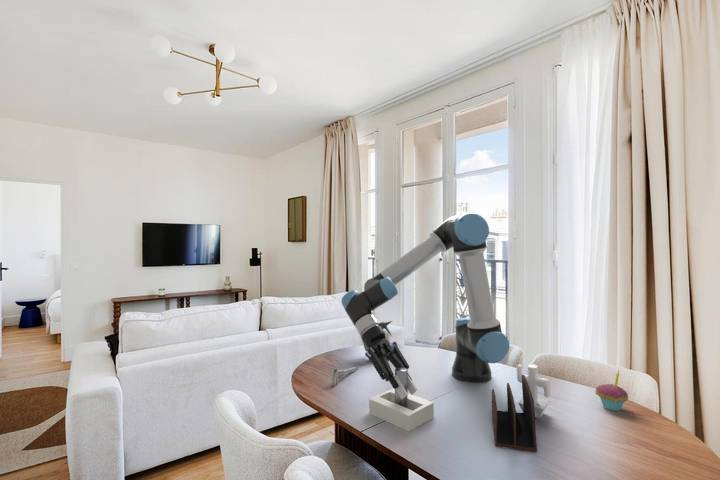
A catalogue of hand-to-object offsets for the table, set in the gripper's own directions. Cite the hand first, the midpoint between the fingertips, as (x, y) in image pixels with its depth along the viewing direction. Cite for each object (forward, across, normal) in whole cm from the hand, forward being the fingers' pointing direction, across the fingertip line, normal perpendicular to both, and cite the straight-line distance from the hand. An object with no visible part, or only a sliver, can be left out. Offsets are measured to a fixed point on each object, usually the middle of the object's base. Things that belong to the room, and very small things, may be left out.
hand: (409, 394), depth 109 cm
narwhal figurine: (-28, -35, -39) cm, 59 cm away
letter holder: (+23, -15, +12) cm, 30 cm away
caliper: (-23, -10, -34) cm, 42 cm away
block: (+3, 0, -8) cm, 8 cm away
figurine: (+23, -30, +12) cm, 40 cm away
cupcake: (+34, -52, +24) cm, 66 cm away
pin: (+1, 0, -6) cm, 6 cm away
